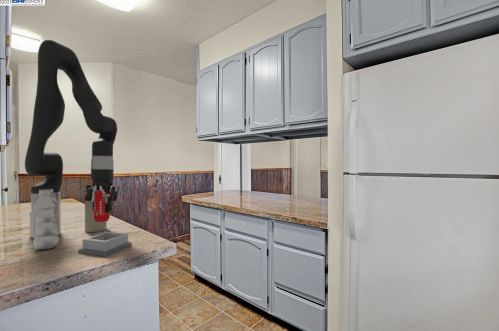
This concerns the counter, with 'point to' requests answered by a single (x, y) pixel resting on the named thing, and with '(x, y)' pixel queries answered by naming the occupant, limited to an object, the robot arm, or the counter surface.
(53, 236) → the plastic bottle
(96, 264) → the counter surface
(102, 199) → the beverage can
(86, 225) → the travel mug
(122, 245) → the can holder
